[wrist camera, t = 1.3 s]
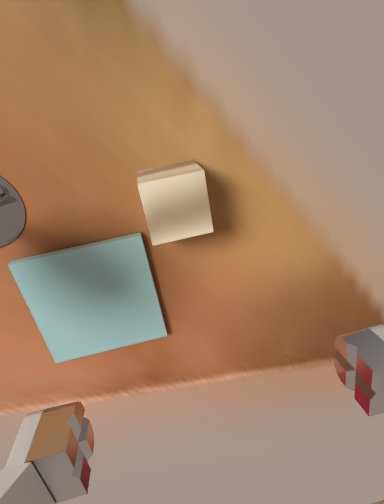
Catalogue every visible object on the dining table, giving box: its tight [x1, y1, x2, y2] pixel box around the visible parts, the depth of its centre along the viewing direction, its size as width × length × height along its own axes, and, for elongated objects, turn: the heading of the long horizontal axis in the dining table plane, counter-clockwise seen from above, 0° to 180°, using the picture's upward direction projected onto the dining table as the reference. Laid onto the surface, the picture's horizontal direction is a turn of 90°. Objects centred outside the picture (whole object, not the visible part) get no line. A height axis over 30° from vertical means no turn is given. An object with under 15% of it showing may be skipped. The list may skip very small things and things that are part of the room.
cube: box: [137, 160, 214, 246], centre depth 27 cm, size 5×5×5 cm
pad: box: [8, 232, 167, 363], centre depth 32 cm, size 12×12×1 cm
